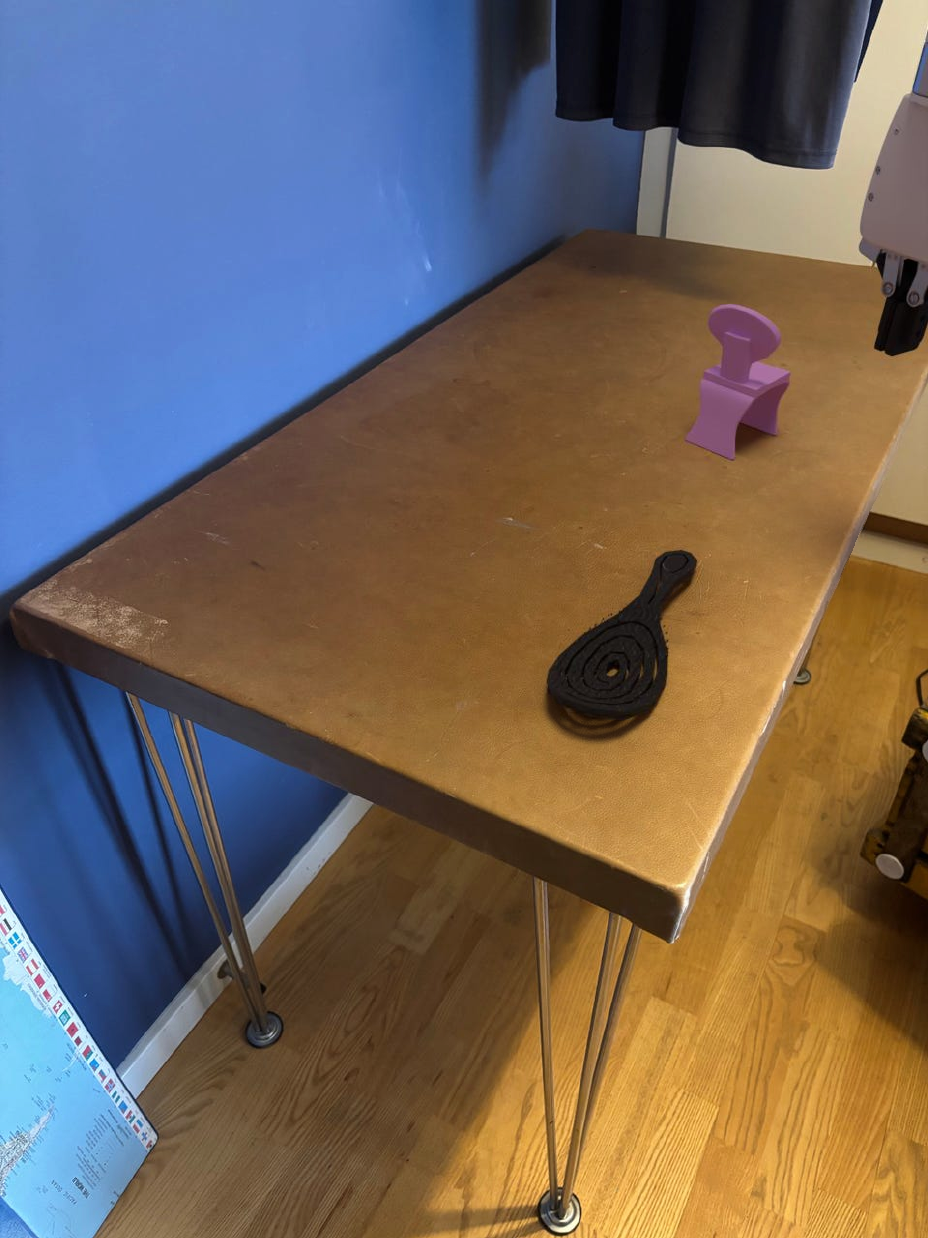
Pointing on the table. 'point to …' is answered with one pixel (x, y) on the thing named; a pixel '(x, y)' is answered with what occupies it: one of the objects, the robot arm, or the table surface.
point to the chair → (739, 380)
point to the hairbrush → (622, 651)
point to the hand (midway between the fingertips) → (895, 348)
